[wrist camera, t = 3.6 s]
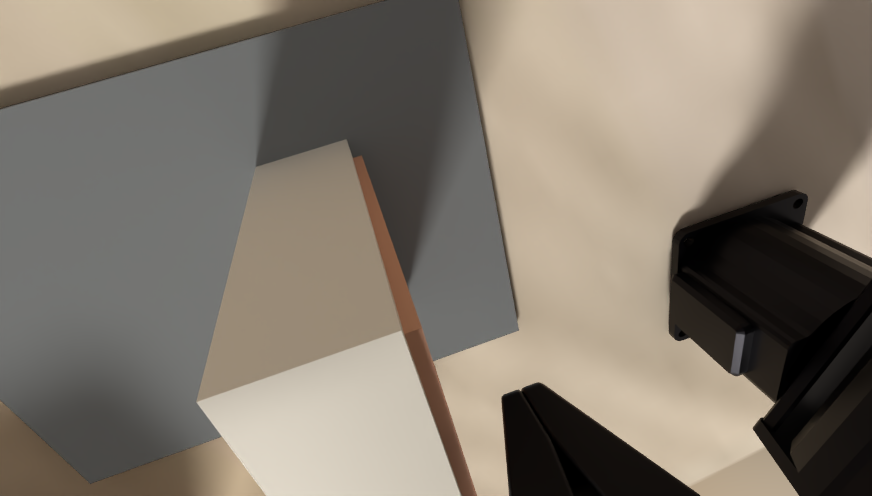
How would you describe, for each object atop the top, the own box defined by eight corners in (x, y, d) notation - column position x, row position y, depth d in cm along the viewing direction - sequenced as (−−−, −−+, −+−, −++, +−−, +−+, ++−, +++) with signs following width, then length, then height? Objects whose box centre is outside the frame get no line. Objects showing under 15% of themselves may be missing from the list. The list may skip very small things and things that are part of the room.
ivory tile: (355, 136, 15) (421, 323, 7) (410, 301, 19) (497, 556, 11) (255, 166, 15) (196, 402, 7) (330, 328, 19) (354, 613, 10)
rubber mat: (451, -19, 14) (455, -19, 14) (515, 324, 22) (518, 330, 21) (-225, 171, 13) (-240, 177, 12) (93, 475, 20) (90, 483, 19)
